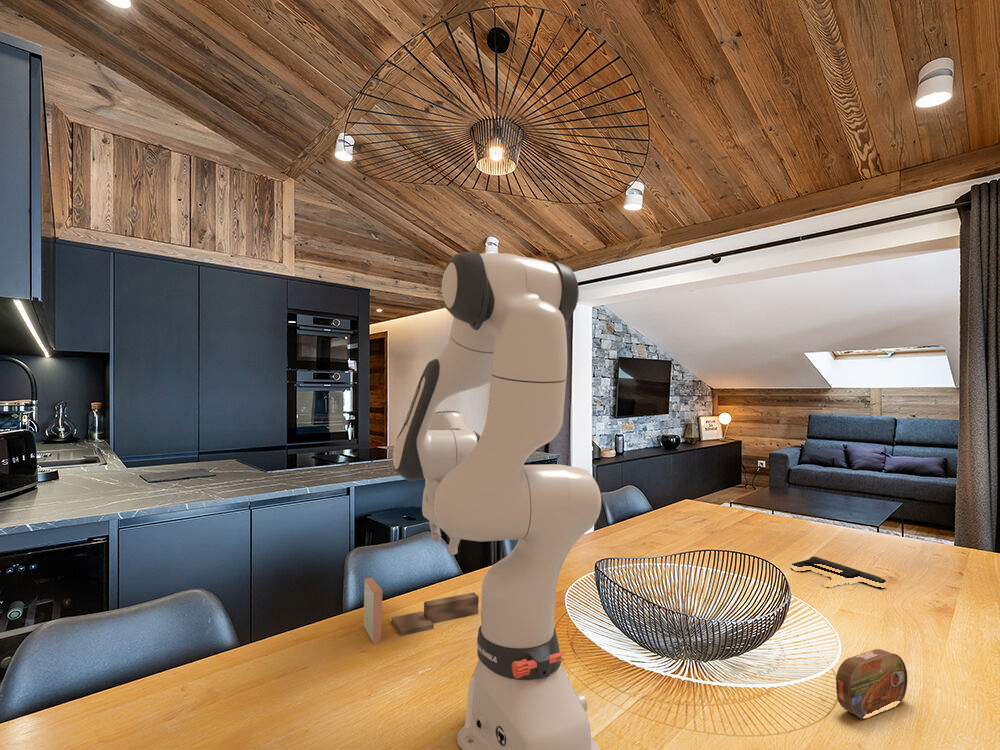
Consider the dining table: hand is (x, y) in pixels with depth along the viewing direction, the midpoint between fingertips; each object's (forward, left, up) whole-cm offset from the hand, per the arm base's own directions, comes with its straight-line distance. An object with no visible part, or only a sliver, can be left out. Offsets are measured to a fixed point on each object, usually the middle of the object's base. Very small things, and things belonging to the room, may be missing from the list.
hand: (444, 547), depth 112 cm
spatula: (0, +1, -16) cm, 16 cm away
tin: (-60, -51, -16) cm, 80 cm away
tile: (0, +16, -16) cm, 22 cm away
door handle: (-24, -105, -16) cm, 109 cm away
